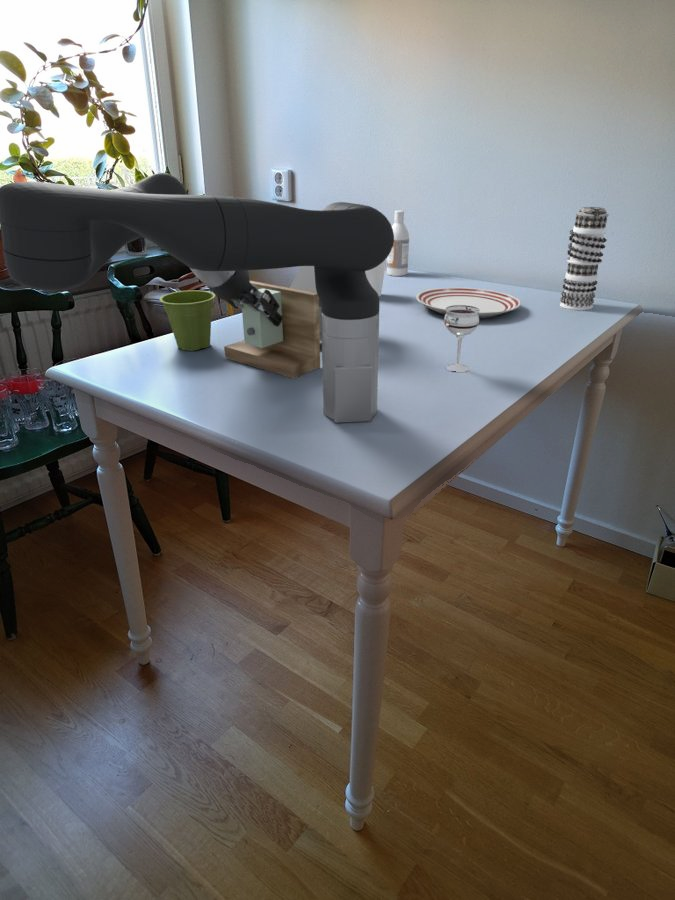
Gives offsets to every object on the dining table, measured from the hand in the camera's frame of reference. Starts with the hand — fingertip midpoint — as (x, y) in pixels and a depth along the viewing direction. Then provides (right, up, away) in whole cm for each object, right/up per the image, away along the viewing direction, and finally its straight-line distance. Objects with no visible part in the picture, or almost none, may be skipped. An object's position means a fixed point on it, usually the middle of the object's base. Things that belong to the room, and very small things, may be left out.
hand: (269, 319), depth 123 cm
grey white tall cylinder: (+79, +13, +42) cm, 90 cm away
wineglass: (+38, -10, 0) cm, 39 cm away
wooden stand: (0, -8, +4) cm, 9 cm away
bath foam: (+34, +32, +81) cm, 94 cm away
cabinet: (-1, -4, +1) cm, 5 cm away
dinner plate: (+49, +11, +41) cm, 65 cm away
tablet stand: (+12, 0, +19) cm, 23 cm away
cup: (+23, +19, +55) cm, 62 cm away
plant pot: (-19, -3, +14) cm, 24 cm away
